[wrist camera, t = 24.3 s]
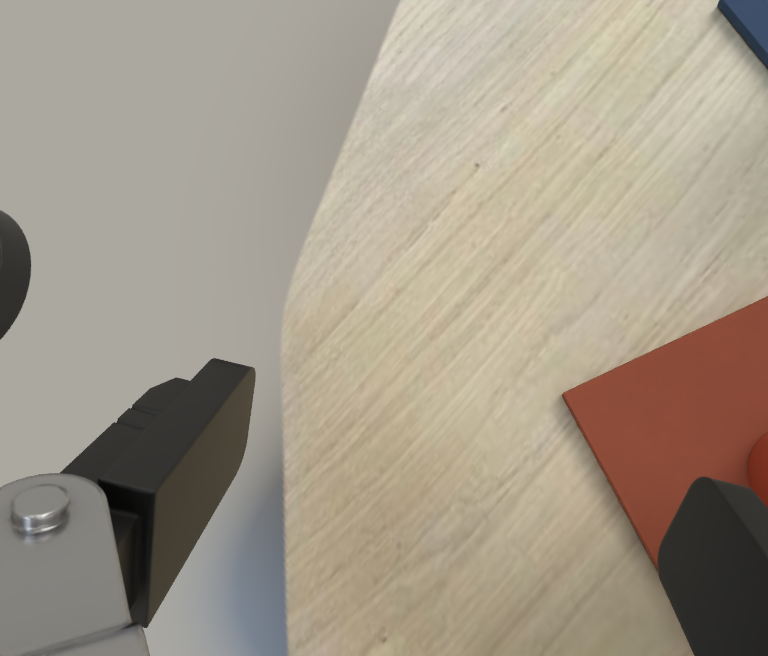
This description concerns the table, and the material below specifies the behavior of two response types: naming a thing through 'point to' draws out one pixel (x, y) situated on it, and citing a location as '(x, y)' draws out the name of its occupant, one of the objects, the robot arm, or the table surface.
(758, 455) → the terracotta shaker
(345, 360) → the table surface
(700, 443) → the terracotta mat
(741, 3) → the blue mat
